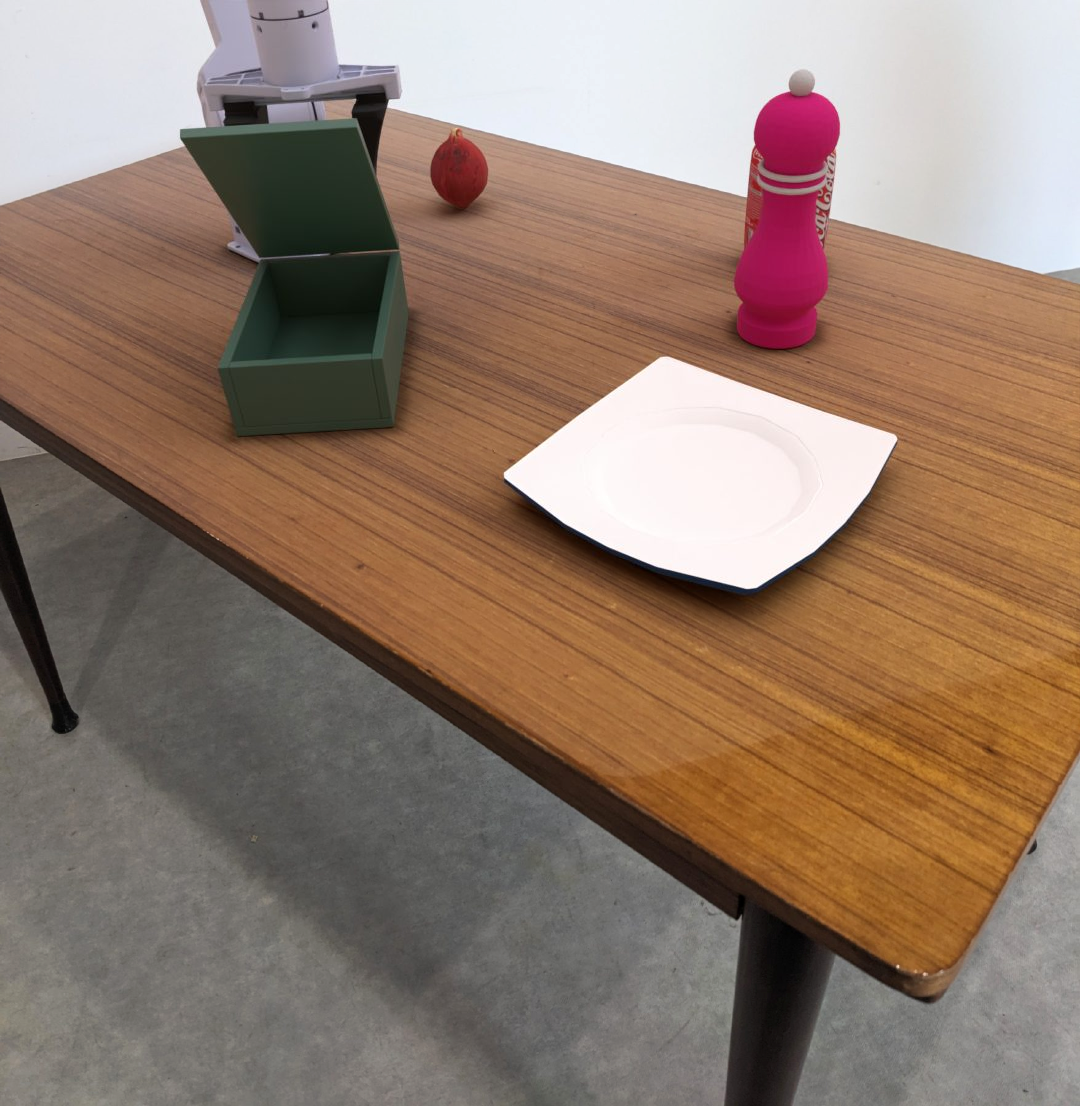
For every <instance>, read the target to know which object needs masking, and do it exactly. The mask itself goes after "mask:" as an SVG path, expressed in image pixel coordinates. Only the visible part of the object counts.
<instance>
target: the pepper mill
mask: <svg viewBox="0 0 1080 1106" xmlns="http://www.w3.org/2000/svg"><path fill="white" fill-rule="evenodd" d="M815 85H816V78H815V75H814V74H813V73H812V72H811V71H810V70H808V69H805V68H802V69H798V70H796V71H795V72H794V73H792V74H791V76H790V77H789V80H788V91H786V92H783V93H780V94H777V95H776V96H774V97H772V98H771V99H769V100H768V101H767V102H766V103H765V104H764V105H763V106H762V108H761V110H760V111H759V112H758V115H757V117H756V120H755V123H754V128H753V143H754V146H756V149H757V150H758V152H759V153H760V155H761V156H762V157H763V160H761V161H760V162H759V164H758V170H759V175H758V176H757V183H758V184H759V186H761V187H762V197H763V201H762V209H761V215H760V218H759V221H758V225H757V227H756V229H755V231H754V233H753V235H752V237H751V238H750V240H749V242H748V244H747V245H746V247H745V249H744V248H743V250H742V252H741V254H740V257H739V260H738V262H737V265H736V269H735V273H734V279H733V285H734V286H733V287H734V290H735V293H736V295H737V298H739V300H740V301H741V302H742V303H740V304H739V307H738V309H737V318H736V319H737V321H736V331H737V333H738V335H739V337H740V338H741V339H743V340H744V341H745V342H747V343H749V344H751V345H754V346H757V347H759V348H764V349H773V350H784V349H792V348H797V347H800V346H803V345H805V344H807V343H808V342H809V341H811V340H812V339H813V338H814V336H815V334H816V330H817V329H816V328H817V321H818V310H817V308H816V306H817V305H818V304H819V303H820V302H821V301H822V300H823V298H824V297H825V295H826V294H827V290H828V288H829V266H828V260H827V257H826V253H825V249H824V250H823V247H822V245H821V242H820V239H819V236H818V232H817V229H816V221H815V210H816V201H817V197H818V193H819V190H820V189H821V188H823V187H824V186H825V184H826V182H827V178H826V173H827V171H828V165H827V163H826V162H825V161H824V160H825V159H826V158H827V157H828V156H829V155H830V154H831V153H832V152H833V151H834V149H836V147H837V145H838V143H839V139H840V136H841V120H840V115H839V112H838V111H837V108H836V107H835V105H834V104H833V103H832V101H830V99H829V98H827V97H825V96H824V95H823V94H820V93H817V92H814V91H813V90H814V88H815Z"/></svg>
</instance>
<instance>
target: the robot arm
mask: <svg viewBox="0 0 1080 1106" xmlns="http://www.w3.org/2000/svg"><path fill="white" fill-rule="evenodd" d="M199 1H200V5H201V8H202V11H203V14H204V16H205V19H206V23H207V26H208V29H209V31H210V34H211V37H212V41H213V43H214V46H215V47H214V49H213V51H212V52H211V54H210V55H208V58H207V59H206V60H205V62H204V63H203V64H202V65H201V67H200V69H199V70H198V74H197V80H196V92H197V96H198V99H199V103H200V105H201V111H202V117H203V121H204V125H205V127H222V126H238V125H254V124H270V123H286V122H302V121H318V120H328V117H327V113H326V107H325V103H324V102H332V101H334V102H335V101H347V100H348V101H349V100H355V103H354V104H353V106H352V109H351V111H350V114H351V118H357V121H358V124H359V127H360V129H361V132H362V135H363V138H364V141H365V144H366V147H367V150H368V153H369V156H370V159H371V162H372V165H373V168H374V170H375V173H376V176H378V175H377V170H378V156H379V155H378V154H379V147H380V140H381V135H382V129H383V125H384V121H385V116H386V113H387V109H388V106H389V101H390V100H400V99H401V97H402V93H403V88H402V81H401V73H400V66H399V64H395V65H394V64H393V65H392V64H390V65H371V64H369V65H368V64H367V65H365V64H344V63H339V60H338V59H339V58H338V53H337V46H336V41H335V35H334V30H333V23H332V17H331V11H330V5H329V0H199ZM226 212H227V215H228V220H229V223H230V228H231V231H232V235H233V236H232V237H233V239H234V240H233V241H230V242H229V243H227V244H226V246H227V249H228V250H230V251H232V252H234V253H237V254H239V255H241V256H243V257H245V258H247V259H249V260H251V261H254V262H256V263H258V264H259V262H260V259H273V258H289V257H306V256H322V255H331V254H318V255H301V256H285V257H268V258H259V257H258V255H257V254H256V252H255V251H254V249H253V248H252V246H251V245H250V243H249V242H248V240H247V239H246V237H245V236H244V234H243V233H242V231H241V230H240V228H239V227H238V225H237V224H236V222H235V221H234V219H233V217H232V216H231V214H230V213H229V211H228V210H227V209H226Z"/></svg>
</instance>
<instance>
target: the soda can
mask: <svg viewBox="0 0 1080 1106" xmlns="http://www.w3.org/2000/svg"><path fill="white" fill-rule="evenodd" d="M761 160H763V157H762V156H761V155H760V153H759V152H758V150H757V149H756V146H755V145H754V146H753V148H752V150H751V156H750V162H749V172H748V182H747V183H748V184H747V195H746V208H745V221H744V231H743V234H744V235H743V250H744V249H745V247H746V245H747V244H748V242H749V240H750V238H751V237H752V235H753V233H754V231H755V229H756V227H757V225H758V221H759V218H760V215H761V209H762V201H763V197H762V187H761V186H759V184H758V183H757V176H758V175H759V170H758V164H759V162H760V161H761ZM824 161H825V162H826V163H827V165H828V171H827V173H826V178H827V182H826V184H825V186H824V187H823V188H821V189H820V190H819V193H818V197H817V201H816V210H815V221H816V229H817V232H818V236H819V239H820V242H821V245H822V247H823V250H824V251H825V247H826V242H827V237H828V229H829V222H830V215H831V207H832V199H833V192H834V183H835V174H836V164H837V149H836V148H835V149H834V151H833V152H832V153H831V154H830V155H829V156H828V157H827V158H826V159H825V160H824Z"/></svg>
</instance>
